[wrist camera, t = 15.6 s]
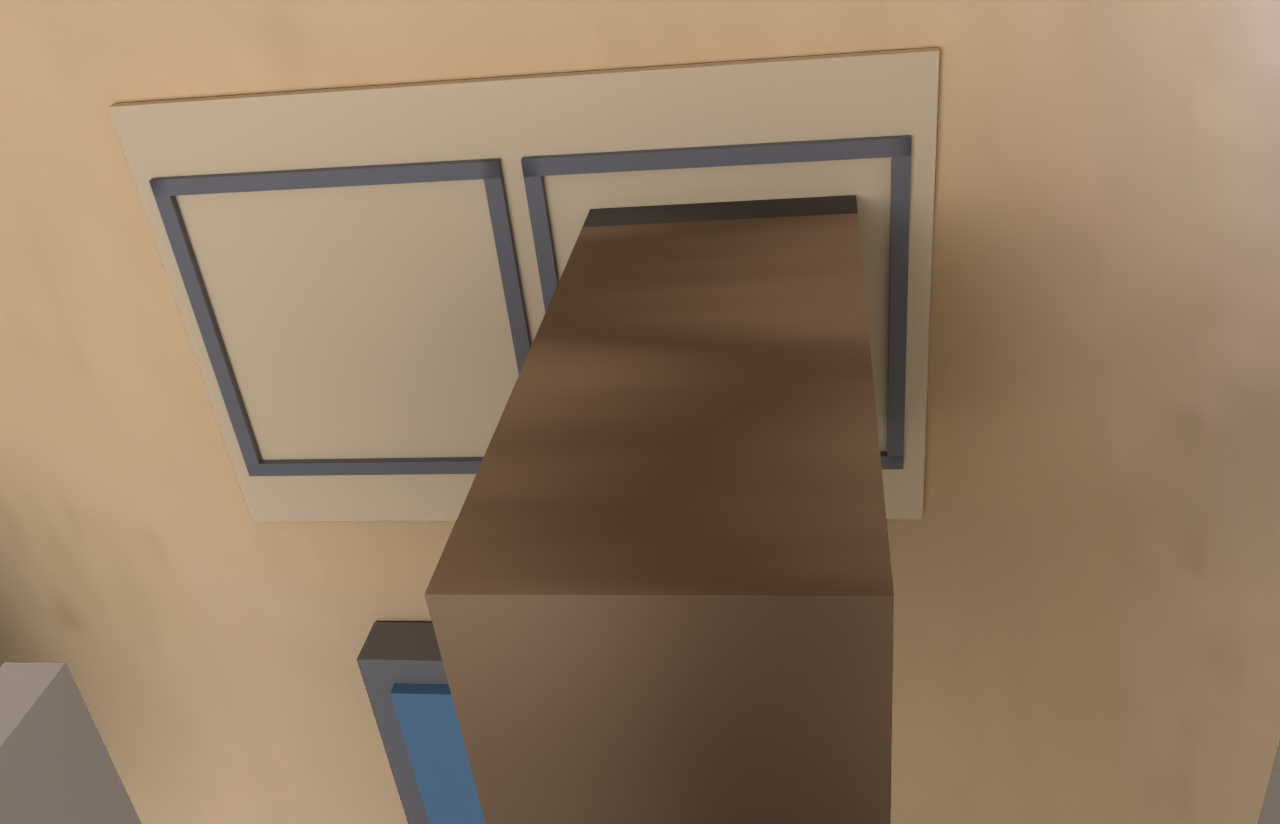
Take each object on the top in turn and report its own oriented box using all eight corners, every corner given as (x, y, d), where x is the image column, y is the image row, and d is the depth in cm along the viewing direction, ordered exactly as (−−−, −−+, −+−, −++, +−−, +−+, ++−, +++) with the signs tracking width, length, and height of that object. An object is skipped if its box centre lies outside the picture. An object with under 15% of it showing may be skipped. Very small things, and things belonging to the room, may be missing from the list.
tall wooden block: (619, 429, 22) (501, 884, 13) (590, 208, 20) (424, 594, 11) (857, 423, 21) (889, 902, 13) (856, 194, 19) (894, 596, 10)
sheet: (255, 516, 24) (249, 525, 24) (113, 104, 20) (102, 109, 20) (921, 513, 22) (923, 524, 22) (938, 46, 18) (940, 53, 17)
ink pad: (442, 850, 30) (425, 900, 29) (374, 621, 26) (352, 669, 24) (826, 867, 28) (827, 922, 27) (821, 626, 24) (821, 677, 23)
